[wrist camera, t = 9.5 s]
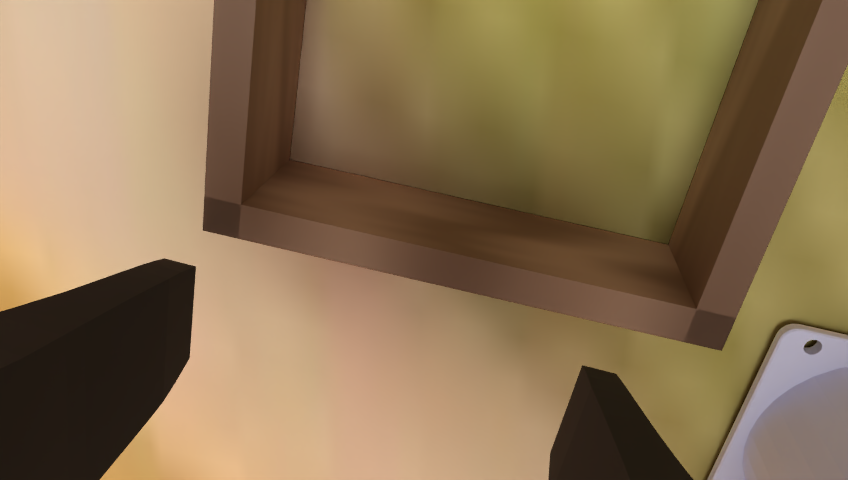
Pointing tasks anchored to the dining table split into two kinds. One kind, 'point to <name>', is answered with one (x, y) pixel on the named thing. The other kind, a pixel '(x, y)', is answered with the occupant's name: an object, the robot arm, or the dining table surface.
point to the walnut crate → (518, 231)
